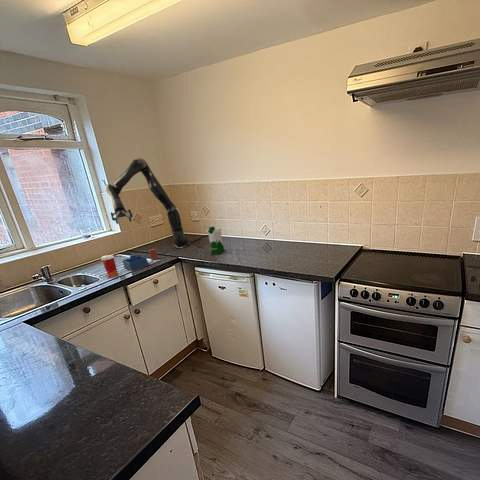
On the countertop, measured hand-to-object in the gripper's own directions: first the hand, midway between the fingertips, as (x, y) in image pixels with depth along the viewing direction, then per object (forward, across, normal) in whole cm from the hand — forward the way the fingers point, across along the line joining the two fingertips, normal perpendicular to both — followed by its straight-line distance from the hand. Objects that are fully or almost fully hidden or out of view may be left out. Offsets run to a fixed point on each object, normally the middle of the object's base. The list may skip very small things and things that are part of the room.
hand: (124, 222), depth 225 cm
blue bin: (+37, -2, +3) cm, 38 cm away
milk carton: (+51, +54, -10) cm, 75 cm away
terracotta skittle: (+33, +12, +7) cm, 36 cm away
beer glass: (+44, -18, -4) cm, 48 cm away
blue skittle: (+37, -2, +3) cm, 37 cm away
